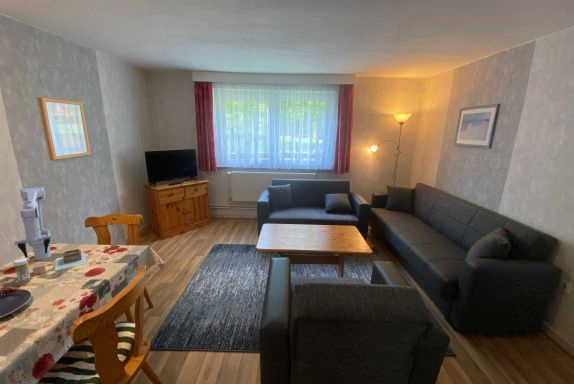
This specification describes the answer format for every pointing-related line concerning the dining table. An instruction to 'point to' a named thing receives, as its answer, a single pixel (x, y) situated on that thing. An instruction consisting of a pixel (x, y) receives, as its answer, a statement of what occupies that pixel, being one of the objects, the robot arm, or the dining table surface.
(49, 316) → the dining table surface
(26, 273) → the spice jar
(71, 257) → the frame
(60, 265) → the board
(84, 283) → the dining table surface
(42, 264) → the terracotta block
